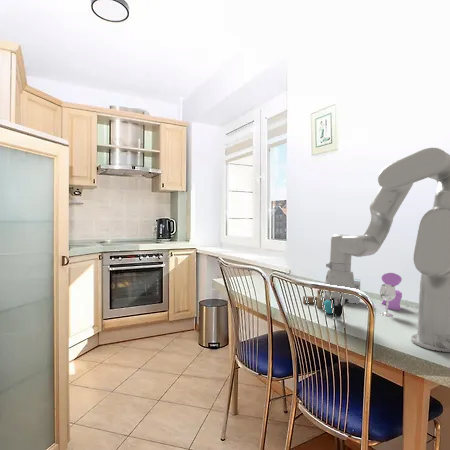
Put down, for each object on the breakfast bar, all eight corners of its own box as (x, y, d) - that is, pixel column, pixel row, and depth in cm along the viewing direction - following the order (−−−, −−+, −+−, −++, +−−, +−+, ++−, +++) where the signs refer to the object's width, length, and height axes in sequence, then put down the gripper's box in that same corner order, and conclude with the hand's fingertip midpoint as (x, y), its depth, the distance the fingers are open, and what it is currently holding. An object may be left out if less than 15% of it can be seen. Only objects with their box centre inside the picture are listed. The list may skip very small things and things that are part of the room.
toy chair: (383, 308, 145) (384, 274, 145) (378, 303, 154) (380, 271, 154) (404, 310, 144) (405, 276, 143) (398, 305, 152) (400, 272, 152)
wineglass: (391, 313, 139) (392, 284, 138) (396, 317, 133) (398, 287, 132) (376, 312, 139) (378, 283, 139) (381, 316, 133) (383, 286, 133)
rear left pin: (323, 308, 141) (324, 288, 141) (317, 308, 141) (318, 288, 141) (321, 307, 144) (322, 287, 144) (316, 306, 144) (316, 287, 144)
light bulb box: (359, 301, 157) (360, 278, 157) (359, 304, 151) (360, 281, 151) (335, 298, 161) (336, 276, 161) (334, 301, 155) (336, 278, 155)
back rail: (340, 305, 148) (340, 298, 148) (303, 303, 148) (304, 297, 148) (338, 304, 150) (338, 297, 150) (302, 302, 150) (303, 296, 150)
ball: (334, 298, 138) (335, 313, 137) (320, 297, 137) (320, 312, 136) (341, 299, 132) (341, 315, 131) (326, 299, 131) (326, 314, 130)
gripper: (323, 268, 122) (320, 317, 123) (364, 269, 122) (361, 319, 122) (317, 265, 130) (315, 311, 130) (356, 266, 129) (353, 313, 130)
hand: (337, 315), depth 126 cm, fingers closed
